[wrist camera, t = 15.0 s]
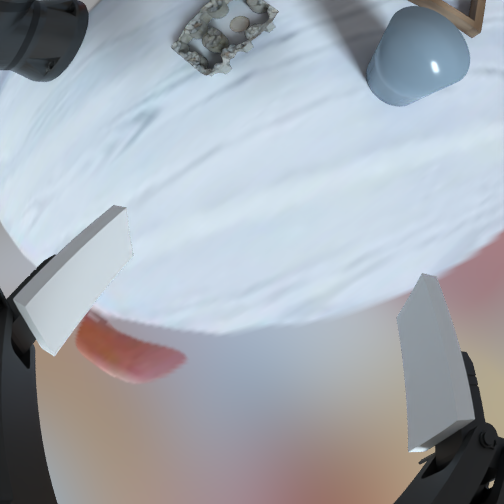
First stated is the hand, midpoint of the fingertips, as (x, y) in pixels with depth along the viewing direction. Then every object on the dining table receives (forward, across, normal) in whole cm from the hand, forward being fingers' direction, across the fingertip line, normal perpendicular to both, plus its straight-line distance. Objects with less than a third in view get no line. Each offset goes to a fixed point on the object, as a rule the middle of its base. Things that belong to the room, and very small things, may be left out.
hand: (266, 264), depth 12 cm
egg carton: (+24, -10, +11) cm, 28 cm away
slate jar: (+22, +8, +10) cm, 25 cm away
